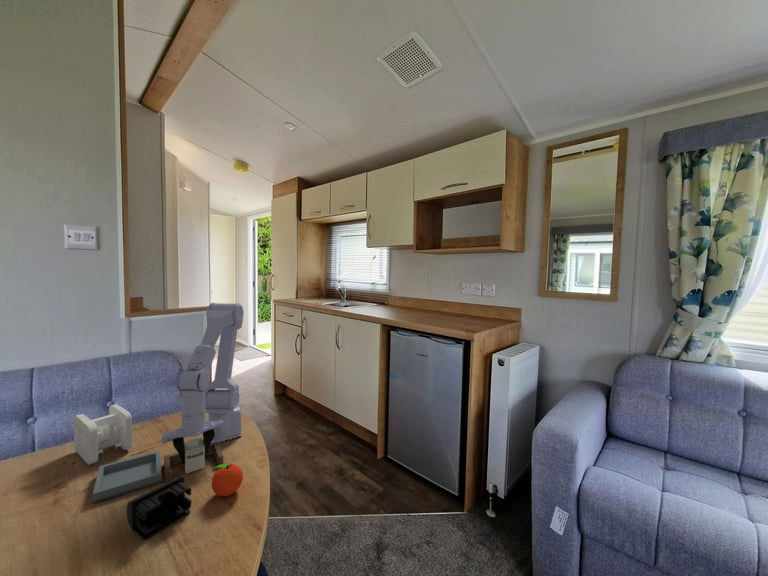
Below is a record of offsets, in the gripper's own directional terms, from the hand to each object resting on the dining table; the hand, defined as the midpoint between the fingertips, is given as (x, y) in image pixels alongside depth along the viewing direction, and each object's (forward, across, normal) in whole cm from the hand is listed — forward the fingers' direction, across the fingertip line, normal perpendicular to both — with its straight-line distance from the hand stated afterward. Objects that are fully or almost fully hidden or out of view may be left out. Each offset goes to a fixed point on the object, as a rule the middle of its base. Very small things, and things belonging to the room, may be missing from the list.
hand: (194, 460), depth 88 cm
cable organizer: (+2, -21, +23) cm, 31 cm away
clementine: (+2, +5, -17) cm, 18 cm away
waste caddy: (+1, 0, 0) cm, 1 cm away
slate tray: (+2, -14, +3) cm, 14 cm away
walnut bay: (+2, 0, 0) cm, 2 cm away
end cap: (+2, -8, -18) cm, 20 cm away
